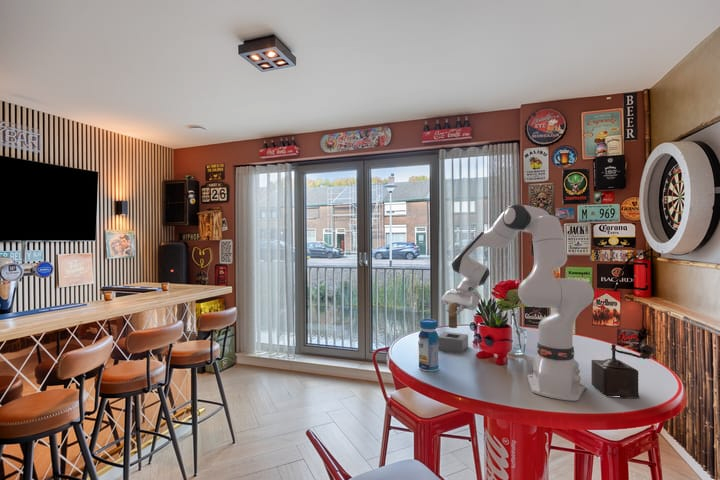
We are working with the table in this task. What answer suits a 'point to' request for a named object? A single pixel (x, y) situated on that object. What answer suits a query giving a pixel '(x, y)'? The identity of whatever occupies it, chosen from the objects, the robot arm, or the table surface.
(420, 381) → the table surface
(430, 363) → the beverage bottle
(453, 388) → the table surface
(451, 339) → the charcoal socket
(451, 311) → the walnut peg
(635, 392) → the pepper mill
